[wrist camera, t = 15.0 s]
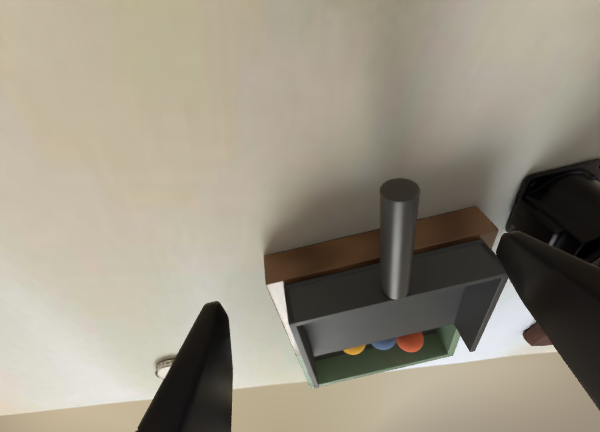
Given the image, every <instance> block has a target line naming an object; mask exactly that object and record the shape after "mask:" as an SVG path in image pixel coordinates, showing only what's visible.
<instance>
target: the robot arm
mask: <svg viewBox="0 0 600 432" xmlns="http://www.w3.org/2000/svg"><path fill="white" fill-rule="evenodd" d="M506 232H507V233H504V234H503V235H502V237H501V239H500V242H499V245H498V247H497V250H496V254H497V257H498V260H499V261H500V263H501V265H502V267H503V268H504V270H505V272H506V274H507V276H508V277H509V279H510V281H511V283H512V284H513V286H514V288H515V290H516V292H517V293H518V295H519V297H520V298H521V300H522V302H523V303H524V305H525V306H526V307H527V309H528V310H529V312H530V313H531V315H532V316H533V317H534V319H535V320H536V322H537V323H538V324H539V326H540V327H541V329H542V330H543V331H544V333H545V334H546V336H547V337H548V338H549V340H550V341H551V343H552V344H553V346H554V347H555V348H556V350H557V351H558V353H559V354H560V355H561V357H562V358H563V360H564V361H565V362H566V364H567V365H568V367H569V368H570V369H571V371H572V372H573V374H574V375H575V377H576V378H577V379H578V381H579V382H580V384H581V385H582V386H583V388H584V389H585V391H586V392H587V393H588V395H589V396H590V398H591V399H592V400H593V402H594V403H595V405H596V406H597V408H598V409H599V410H600V158H599V159H595V160H591V161H587V162H583V163H578V164H574V165H570V166H566V167H561V168H557V169H553V170H549V171H544V172H540V173H536V174H532V175H530V176H528V177H527V178H526V179H525V181H524V183H523V186H522V188H521V191H520V193H519V196H518V199H517V201H516V204H515V206H514V209H513V212H512V214H511V217H510V219H509V222H508V224H507V227H506ZM232 382H233V366H232V352H231V340H230V328H229V319H228V315H227V313H226V312H225V310H224V309H223V307H222V305H221V304H220V303H219V302H218V301H215V302H210V303H207V304H205V305H204V306H203V308H202V310H201V312H200V314H199V315H198V317H197V319H196V321H195V323H194V325H193V326H192V328H191V330H190V332H189V334H188V336H187V338H186V339H185V341H184V343H183V345H182V347H181V349H180V350H179V352H178V354H177V356H176V358H175V360H174V361H173V363H172V365H171V367H170V369H169V371H168V373H167V374H166V376H165V378H164V380H163V382H162V384H161V385H160V387H159V389H158V391H157V393H156V395H155V396H154V398H153V400H152V402H151V404H150V406H149V408H148V410H147V411H146V413H145V415H144V417H143V419H142V420H141V422H140V424H139V426H138V430H137V431H136V432H231V415H232Z"/></svg>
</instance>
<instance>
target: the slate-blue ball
mask: <svg viewBox="0 0 600 432" xmlns="http://www.w3.org/2000/svg"><path fill="white" fill-rule="evenodd" d="M396 339H397V337H396V338H392V339H387V340H383V341H379V342H375V343H371V344H372V345H373V346H374V347H375V348H377V349H380V350H387V349H390V348H392V347H393V346H394V344H395V342H396Z"/></svg>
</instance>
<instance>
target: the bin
mask: <svg viewBox="0 0 600 432" xmlns="http://www.w3.org/2000/svg"><path fill="white" fill-rule="evenodd" d="M421 332H422V334H423V337H424V343H423V346H422V347H421V349H420V350H418V351H416V352H406V351H404V350H403V349H401V348H400V347H399V345H398V344H397V342H395V344H394V346H393V347H392V348H390V349H387V350H380V349H377V348H375V347H374V346H373V345H372V344H371V343H370V344H366V346H365V348H364V350H363V351H362V352H360V353H359V354H356V355H351V354H347V353H345V352H344V351H343V350H341V351H336V352H332V353H328V354H323V355H319V356H315V357H314V361H315V366H316V372H317V377H318V383H319V387H321V386H325V385H329V384H333V383H338V382H342V381H346V380H350V379H355V378H359V377H363V376H367V375H372V374H376V373H380V372H385V371H389V370H393V369H397V368H402V367H406V366H410V365H415V364H419V363H423V362H427V361H432V360H436V359H440V358H444V357H449V356H453V354H454V351H455V348H456V346H457V343H458V340H459V337H460V334H459V332H458V330H457V329H456V327H455V325H454V324H451V325H447V326H443V327H438V328H434V329H430V330H426V331H421ZM296 356H297V355H296ZM297 358H298V361H299V363H300V365H301V368H302V370H303V372H304V374H305V377H306V379H307V381H308V383H309V386H310V388H311V389H312V388H314V386H313V384H312V381H311V379H310V376H309V374H308V371H307V369H306V366H305V364H304V361H303V359H302V356H301V355H298V356H297Z"/></svg>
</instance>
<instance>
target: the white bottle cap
mask: <svg viewBox="0 0 600 432" xmlns="http://www.w3.org/2000/svg"><path fill="white" fill-rule="evenodd" d="M173 361H174V360H167V361H164V362H161V363H160V364H158V365H157V367H156V371H155V374H156V376H157V377H159V378H161V379H164V378H165V376H166V374H167V373H168V371H169V369H170V367H171V365H172V363H173Z"/></svg>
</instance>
